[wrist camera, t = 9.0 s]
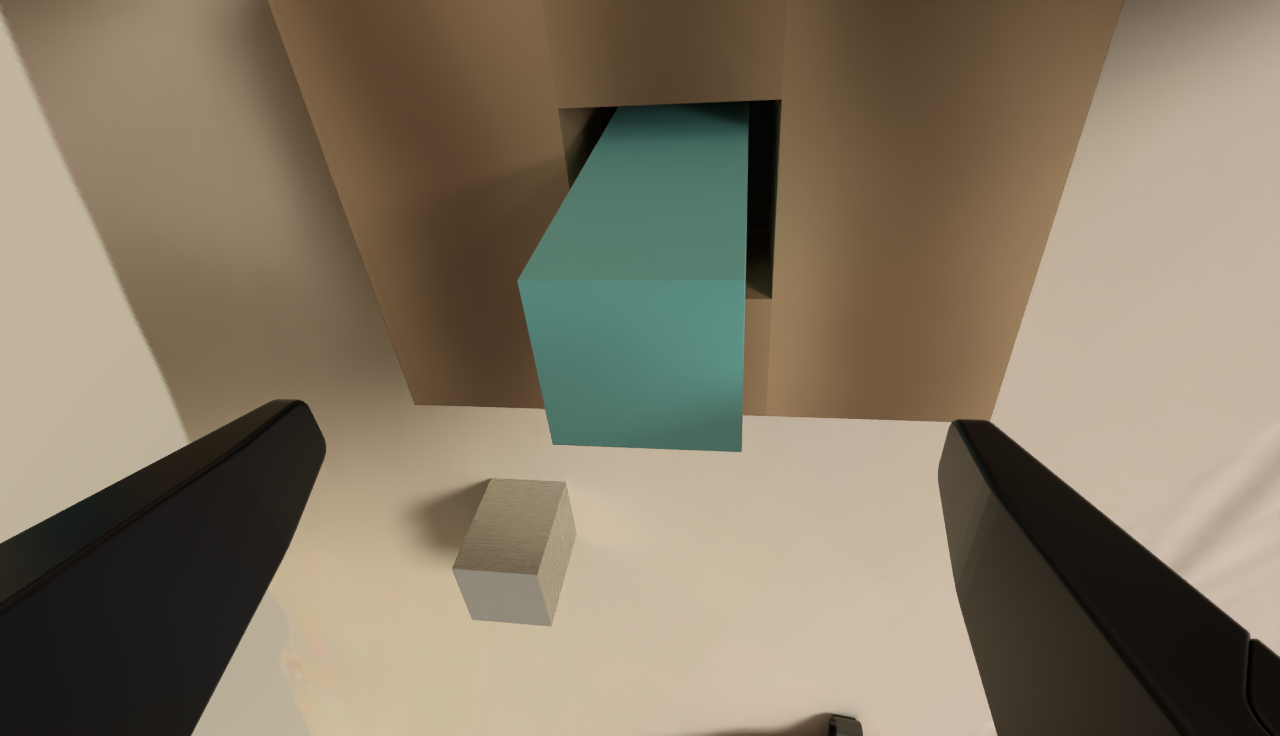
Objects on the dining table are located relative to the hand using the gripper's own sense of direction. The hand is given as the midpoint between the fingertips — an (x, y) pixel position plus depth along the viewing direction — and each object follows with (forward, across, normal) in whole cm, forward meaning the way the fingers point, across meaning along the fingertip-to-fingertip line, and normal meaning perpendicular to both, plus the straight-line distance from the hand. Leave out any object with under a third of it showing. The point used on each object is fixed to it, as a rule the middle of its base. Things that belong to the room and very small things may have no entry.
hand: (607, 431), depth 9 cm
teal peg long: (+11, 0, 0) cm, 11 cm away
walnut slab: (+11, 0, 0) cm, 11 cm away
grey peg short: (+11, +7, +15) cm, 20 cm away
